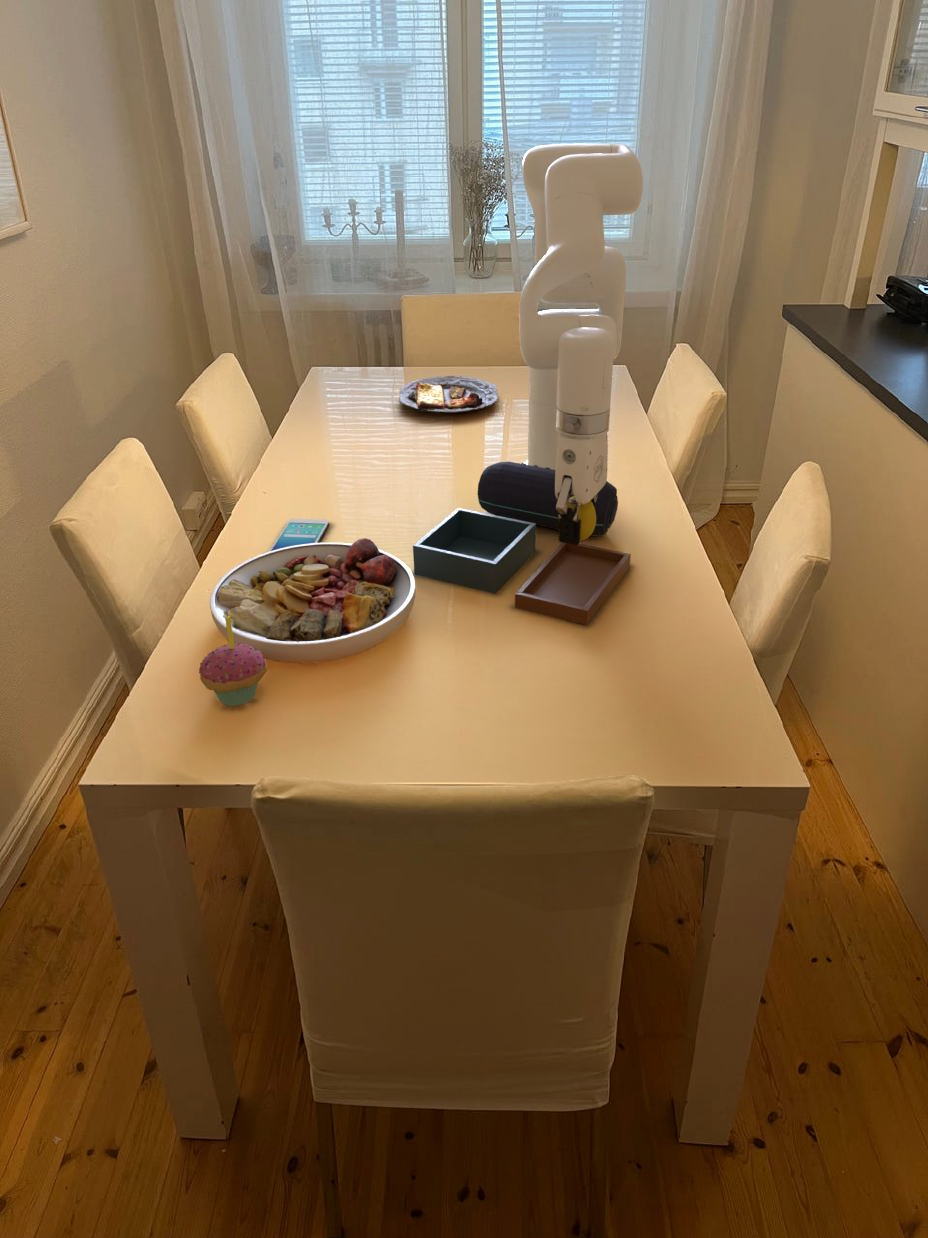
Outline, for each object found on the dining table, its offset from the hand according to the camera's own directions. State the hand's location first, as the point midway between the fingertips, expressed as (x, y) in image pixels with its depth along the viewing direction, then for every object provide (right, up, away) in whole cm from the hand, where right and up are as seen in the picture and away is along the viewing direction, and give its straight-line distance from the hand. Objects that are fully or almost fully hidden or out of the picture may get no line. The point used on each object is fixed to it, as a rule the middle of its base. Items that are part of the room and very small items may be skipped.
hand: (576, 532), depth 141 cm
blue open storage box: (-15, -4, +12) cm, 20 cm away
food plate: (-21, +39, +81) cm, 92 cm away
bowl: (-39, -13, -1) cm, 41 cm away
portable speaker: (-2, +4, +24) cm, 25 cm away
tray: (0, -8, +5) cm, 9 cm away
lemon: (0, -2, +1) cm, 2 cm away
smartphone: (-46, 0, +20) cm, 50 cm away
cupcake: (-47, -23, -18) cm, 56 cm away
